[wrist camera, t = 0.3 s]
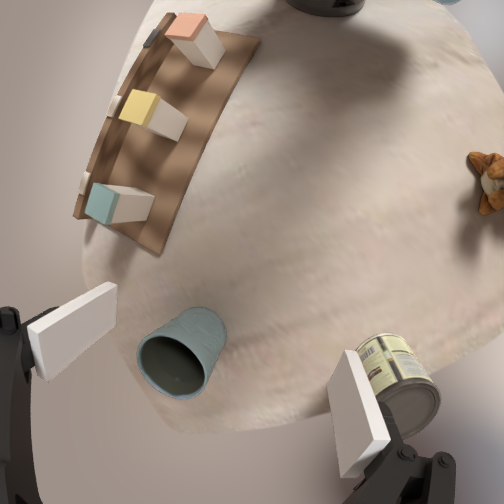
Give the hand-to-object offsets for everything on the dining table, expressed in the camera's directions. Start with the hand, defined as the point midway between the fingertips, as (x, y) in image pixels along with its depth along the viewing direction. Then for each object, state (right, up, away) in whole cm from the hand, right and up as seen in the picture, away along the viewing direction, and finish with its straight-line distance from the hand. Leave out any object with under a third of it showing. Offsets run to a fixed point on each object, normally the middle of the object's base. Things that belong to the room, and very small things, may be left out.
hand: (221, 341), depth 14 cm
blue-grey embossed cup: (-6, -8, +29) cm, 31 cm away
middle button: (-10, +24, +24) cm, 35 cm away
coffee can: (+22, -13, +24) cm, 35 cm away
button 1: (-5, +35, +21) cm, 42 cm away
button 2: (-16, +12, +27) cm, 33 cm away
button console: (-12, +25, +25) cm, 37 cm away
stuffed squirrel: (+42, +16, +16) cm, 48 cm away
